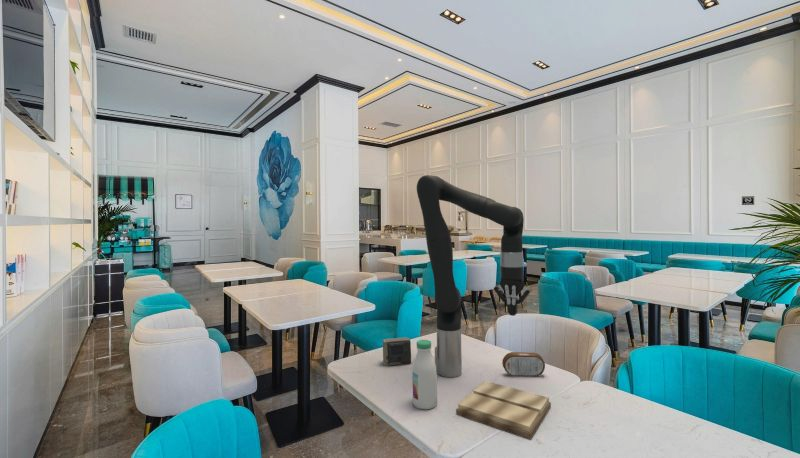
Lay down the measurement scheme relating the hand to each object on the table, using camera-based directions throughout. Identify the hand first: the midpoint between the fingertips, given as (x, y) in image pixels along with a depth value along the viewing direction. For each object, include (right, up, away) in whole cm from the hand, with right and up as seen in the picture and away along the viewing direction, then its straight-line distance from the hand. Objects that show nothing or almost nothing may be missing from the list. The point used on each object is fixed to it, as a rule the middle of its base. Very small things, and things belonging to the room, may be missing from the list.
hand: (512, 315), depth 125 cm
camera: (-40, -26, +23) cm, 53 cm away
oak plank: (-4, -24, -11) cm, 26 cm away
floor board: (-7, -26, -15) cm, 30 cm away
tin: (+7, -25, +10) cm, 28 cm away
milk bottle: (-31, -26, -10) cm, 42 cm away
